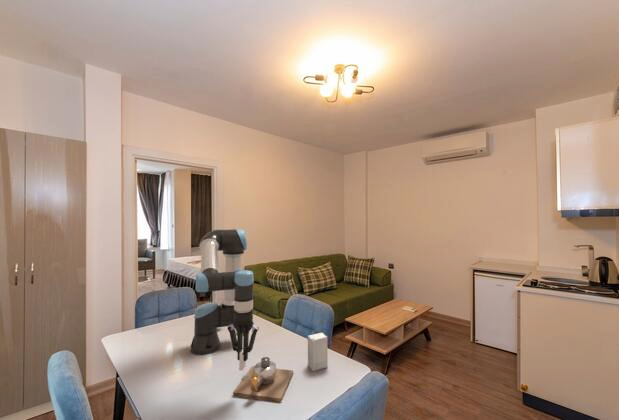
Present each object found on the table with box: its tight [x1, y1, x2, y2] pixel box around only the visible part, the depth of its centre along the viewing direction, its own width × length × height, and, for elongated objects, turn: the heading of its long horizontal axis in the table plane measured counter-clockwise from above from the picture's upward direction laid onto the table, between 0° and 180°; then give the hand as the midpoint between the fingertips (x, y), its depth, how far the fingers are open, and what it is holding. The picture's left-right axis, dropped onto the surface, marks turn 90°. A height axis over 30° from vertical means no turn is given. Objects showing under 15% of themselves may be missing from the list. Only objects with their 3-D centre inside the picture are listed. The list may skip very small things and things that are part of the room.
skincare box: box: [307, 332, 329, 372], centre depth 132 cm, size 8×6×15 cm
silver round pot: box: [251, 356, 277, 392], centre depth 115 cm, size 16×9×7 cm, turn 164°
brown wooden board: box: [232, 365, 294, 403], centre depth 118 cm, size 20×20×3 cm
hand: (242, 368), depth 111 cm, fingers closed
